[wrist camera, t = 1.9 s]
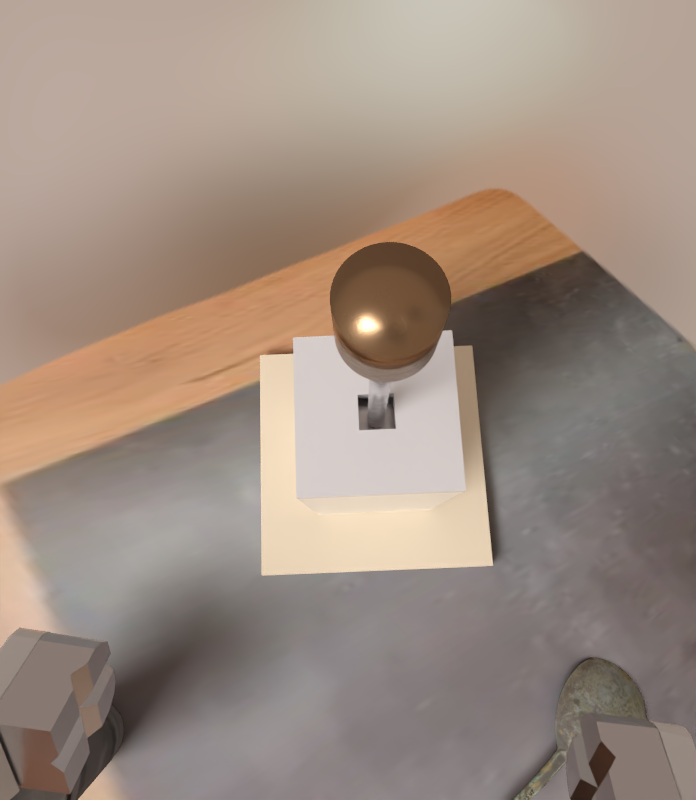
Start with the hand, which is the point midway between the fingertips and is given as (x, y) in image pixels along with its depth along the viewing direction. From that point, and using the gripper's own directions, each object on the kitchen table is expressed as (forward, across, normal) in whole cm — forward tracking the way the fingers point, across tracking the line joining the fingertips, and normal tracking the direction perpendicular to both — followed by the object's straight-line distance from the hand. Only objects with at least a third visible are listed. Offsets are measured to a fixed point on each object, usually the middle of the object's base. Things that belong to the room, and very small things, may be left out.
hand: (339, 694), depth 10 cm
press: (+34, 0, +21) cm, 40 cm away
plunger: (+24, 0, +10) cm, 26 cm away
